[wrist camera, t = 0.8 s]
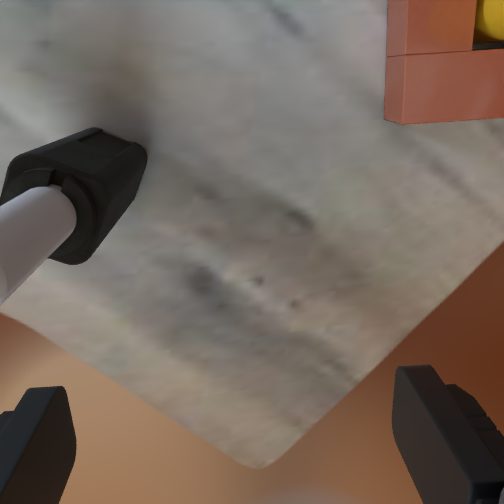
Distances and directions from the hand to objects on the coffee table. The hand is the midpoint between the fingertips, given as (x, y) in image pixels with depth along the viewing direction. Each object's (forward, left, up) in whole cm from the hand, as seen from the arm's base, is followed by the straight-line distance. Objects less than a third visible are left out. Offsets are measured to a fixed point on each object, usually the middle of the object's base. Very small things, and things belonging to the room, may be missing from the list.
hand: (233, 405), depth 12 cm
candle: (-1, -9, -27) cm, 29 cm away
